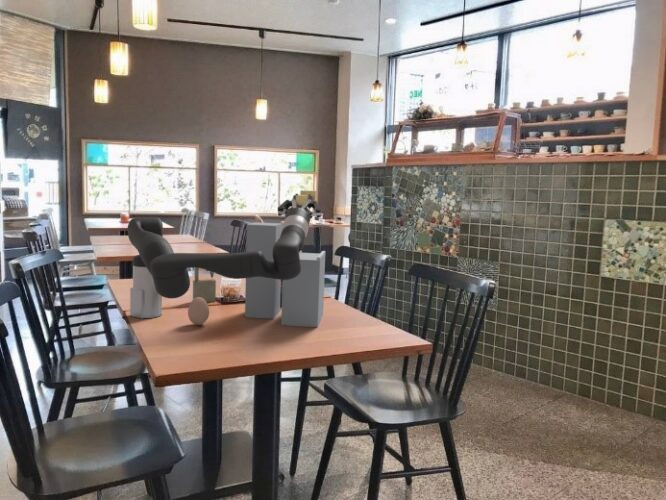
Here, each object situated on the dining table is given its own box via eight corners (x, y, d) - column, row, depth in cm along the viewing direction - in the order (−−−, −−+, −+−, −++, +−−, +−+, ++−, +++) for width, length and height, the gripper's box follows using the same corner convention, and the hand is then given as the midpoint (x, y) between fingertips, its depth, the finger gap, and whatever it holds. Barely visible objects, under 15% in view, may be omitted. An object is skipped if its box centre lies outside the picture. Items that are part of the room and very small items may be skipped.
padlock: (216, 301, 210) (216, 263, 208) (195, 303, 206) (195, 264, 204) (212, 299, 214) (213, 261, 212) (192, 301, 210) (192, 262, 208)
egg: (188, 328, 171) (188, 299, 170) (187, 322, 178) (187, 295, 177) (209, 327, 173) (209, 299, 172) (208, 322, 179) (208, 294, 178)
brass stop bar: (309, 207, 169) (309, 191, 169) (293, 206, 170) (293, 190, 169) (316, 205, 189) (316, 191, 189) (302, 205, 190) (302, 190, 189)
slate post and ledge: (317, 327, 178) (321, 229, 174) (239, 322, 180) (241, 226, 176) (323, 313, 197) (326, 225, 194) (252, 309, 199) (254, 222, 196)
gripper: (319, 216, 157) (325, 186, 171) (270, 214, 158) (280, 185, 172) (319, 237, 162) (325, 207, 175) (272, 235, 163) (282, 205, 176)
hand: (303, 196), depth 174 cm, fingers closed on brass stop bar, 3 cm apart
